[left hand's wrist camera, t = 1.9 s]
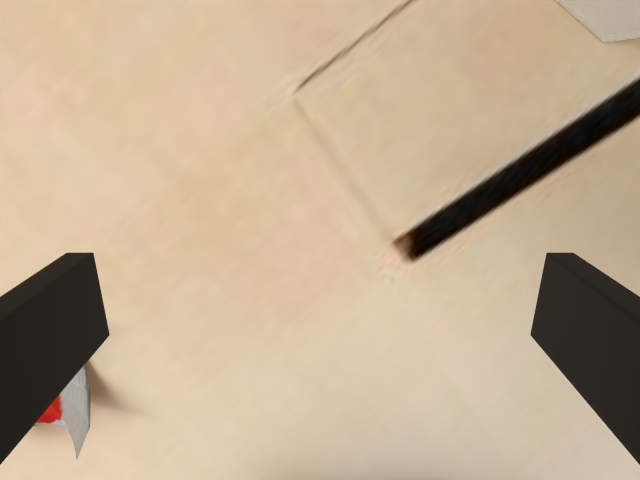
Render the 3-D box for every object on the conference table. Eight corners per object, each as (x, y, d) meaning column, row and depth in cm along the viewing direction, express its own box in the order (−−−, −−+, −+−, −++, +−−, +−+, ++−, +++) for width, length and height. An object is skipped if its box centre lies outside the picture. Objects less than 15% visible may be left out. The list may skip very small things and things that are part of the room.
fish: (-142, 400, 33) (-193, 513, 25) (44, 275, 36) (49, 340, 29) (-22, 456, 39) (-34, 559, 32) (126, 345, 43) (147, 413, 35)
